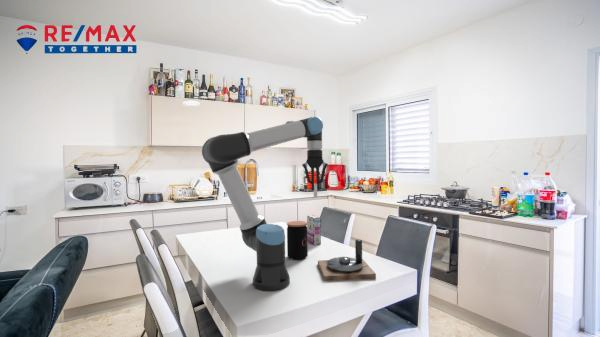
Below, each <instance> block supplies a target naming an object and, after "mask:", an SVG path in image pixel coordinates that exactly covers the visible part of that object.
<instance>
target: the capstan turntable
mask: <svg viewBox="0 0 600 337" xmlns="http://www.w3.org/2000/svg"><path fill="white" fill-rule="evenodd" d="M354 242H355V243H354V244H355V252H354V253H355V258H354V257H349V256H338V257H333V258H330V259H327V260H328V261H327V267H328V268H329V269H331V270H333V271H337V272H345V273H349V272H356V271H359V270H361V269H362V268H363V262H362V259H363V239H355V241H354Z"/></svg>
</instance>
